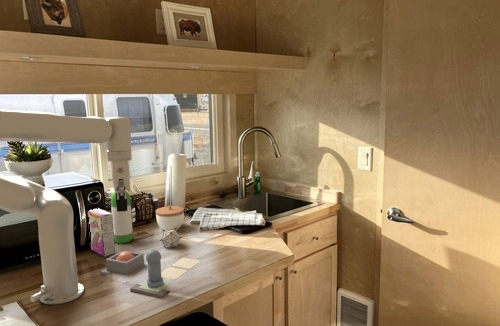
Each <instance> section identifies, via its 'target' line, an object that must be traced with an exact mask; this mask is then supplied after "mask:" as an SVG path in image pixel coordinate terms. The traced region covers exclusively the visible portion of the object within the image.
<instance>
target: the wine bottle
mask: <svg viewBox="0 0 500 326" xmlns="http://www.w3.org/2000/svg"><path fill="white" fill-rule="evenodd" d="M115 193H116V192H115V191H114V190H113V192H112V194H111V196H110V207H111V213H112V218H113V230H114V242H115V243H117V244H126V243H129V242H132V240H133V237H134V236H133V220H132V219H133V218H132V206H131V196H130V194H129V192H128V190H126V198H127V211H122V212H117V204H116V194H115Z"/></svg>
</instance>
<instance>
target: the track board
mask: <svg viewBox="0 0 500 326" xmlns="http://www.w3.org/2000/svg"><path fill="white" fill-rule="evenodd" d="M200 262H201V260H200V259H194V258H188V257H182V258H180V259H179V260H178V261H176V262H174V263H173V264H172V265H171V266H172V267H171V266H168V267H167V268H165V269H164V270H163V271H162V270H161V277H162V278H163V285H162V286H160V287H157V288H150V287H148V286H147V281H145V282H144V283H143V284H138V283H136V284H134V285H133V286H131V287H130V288H129V290H130V292H131V293H132V292H133V293H137V294H142V295H144V296H145V295H146V296H149V297H155V298H159V299H163V298H164V297H165V296H167V295H168V294H170V293H171V291H170V290H166V289H164V288H166V287H167V286H168V285H170V284H171V283H173V281H172V280H177V279H178V278H179V277H181V276H182V275H184V274H185V273H186V272H187V271H188V270H189V269H191V268H192V269H193V267H195V266H196V265H197V264H199V263H200ZM177 267H178V268H177ZM181 268H183V269H181ZM187 269H188V270H187ZM167 279H169V280H167Z"/></svg>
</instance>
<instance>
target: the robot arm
mask: <svg viewBox="0 0 500 326" xmlns="http://www.w3.org/2000/svg"><path fill="white" fill-rule="evenodd" d="M131 134H132V129H131V120H130V119H129V117H127V116H126V117H125V116H112V117H111V116H110V117H97V116H86V117H85V116H71V115H62V114H56V113H51V112H43V111H42V112H41V111H28V110H27V111H25V110H23V111H22V110H11V109H10V110H7V109H0V142H37V143H38V142H39V143H70V144H71V143H74V144H103V143H105V142H106V160H107V162H111V177H112V184H113V185H112V186H113V189H114V190H113V192H114V191H115V192H116V193H115V194H116V204H117V212H122V211H127V198H126V191H127V192H128V193H129V192H131V181H130V179H131V178H130V177H131V176H130V175H131V174H130V163H129V161H132V158H133V157H132V135H131ZM71 204H72V203H70V201H69V200H68V199H67V198H66V197H65V196H64V195H62V194H61V193H60V192H58V191H56V190H54V189H50V188H49V187H46V186H43V185H41V184H39V183H36V182H33V181H31V180H28V179H25V178H23V177H20V176H15V175H14V176H5V175H2V174H0V209H1V210H3V211H5V212H8V213H11V214H23V213H24V214H28V215H31V216H33V217H36V220H37V227H38V243H39V252H40V253H39V254H40V261H41V269H42V271H41V272H42V281H43V285H41V286H40V290H39V291H38V292H37V293H36V292H35V293H34V294H33V295H31V296H29V299H30V300H29V301H31V302H32V303H34V302H36V301H40V302H41V303H43V304H45V305H61V304H66V303H70V302H72V301H74V300H76V299H78V298H79V297H81V296H83V294H84V293H85V286H84V285H83V284H81V283H80V282H79V279H78V267H77V257H76V247H75V246H76V245H75V237H74V236H75V235H74V211H73V210H74V209H73V207H72V205H71Z"/></svg>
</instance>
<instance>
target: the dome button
mask: <svg viewBox="0 0 500 326" xmlns="http://www.w3.org/2000/svg"><path fill="white" fill-rule="evenodd" d="M132 258H134V256H133V255H132V254H131V253H129V252H122V253H120V254H119V255H118V257H117V258H116V260H119V261H125V262H127V261H128V260H130V259H132Z"/></svg>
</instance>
